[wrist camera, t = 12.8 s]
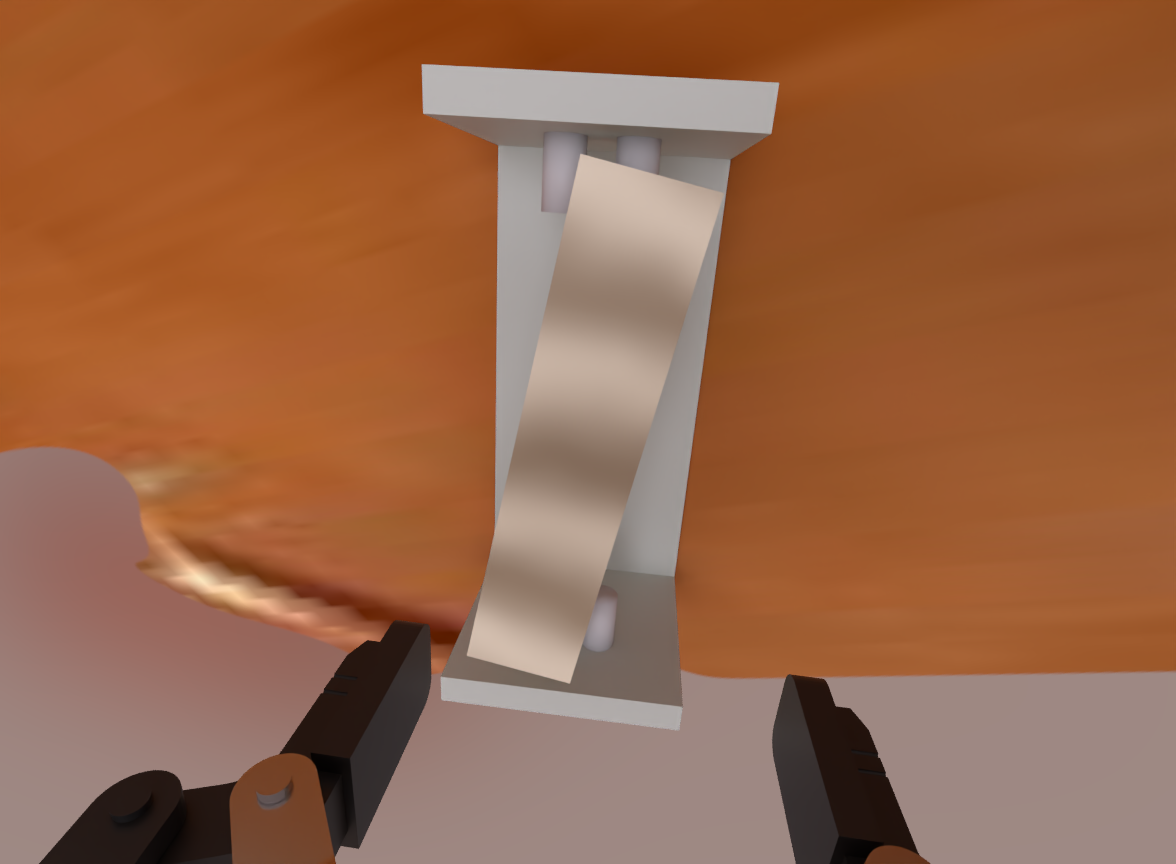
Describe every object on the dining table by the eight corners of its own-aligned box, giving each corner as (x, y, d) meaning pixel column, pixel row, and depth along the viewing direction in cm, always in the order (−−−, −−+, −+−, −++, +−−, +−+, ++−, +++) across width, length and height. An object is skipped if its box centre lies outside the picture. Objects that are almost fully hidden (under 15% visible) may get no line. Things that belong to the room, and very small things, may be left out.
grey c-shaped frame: (503, 116, 32) (421, 64, 20) (732, 129, 31) (779, 82, 20) (498, 567, 41) (441, 700, 30) (671, 587, 41) (679, 730, 29)
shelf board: (591, 162, 24) (580, 153, 20) (712, 195, 24) (724, 193, 20) (487, 602, 32) (466, 655, 28) (579, 627, 32) (569, 683, 28)
